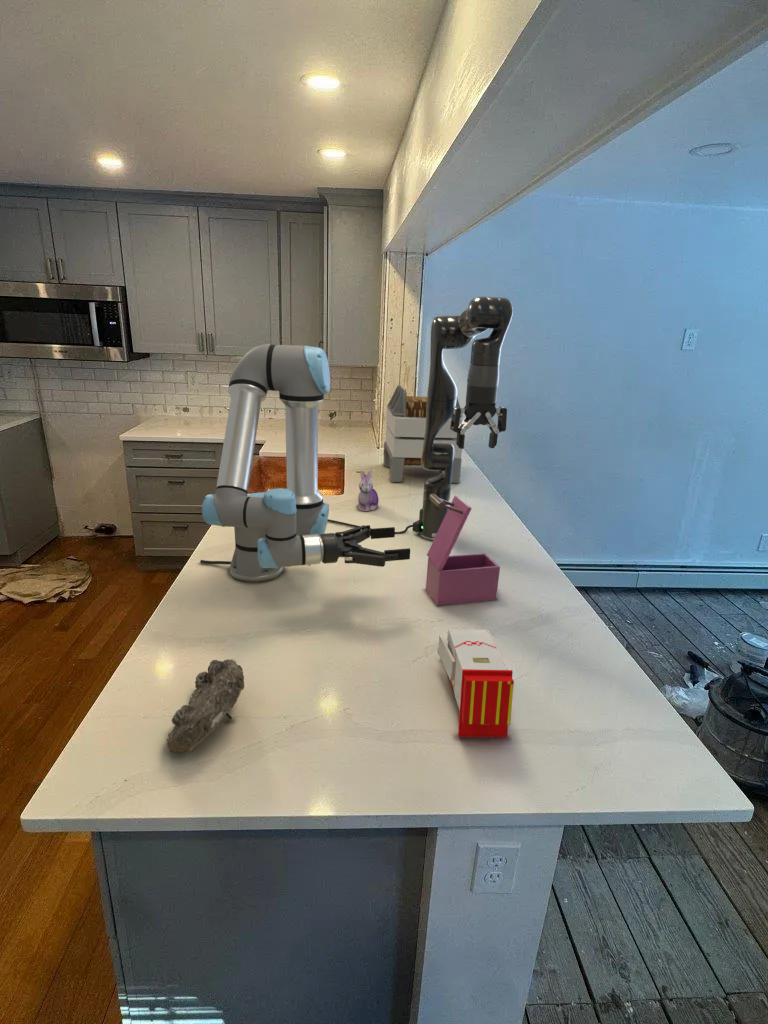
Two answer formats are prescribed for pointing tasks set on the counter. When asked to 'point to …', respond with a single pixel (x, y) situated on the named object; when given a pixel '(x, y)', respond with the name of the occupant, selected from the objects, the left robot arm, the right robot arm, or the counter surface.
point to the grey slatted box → (413, 435)
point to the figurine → (367, 493)
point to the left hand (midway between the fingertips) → (401, 542)
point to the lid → (447, 529)
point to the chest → (463, 579)
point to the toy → (478, 682)
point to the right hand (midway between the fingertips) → (476, 448)
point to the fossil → (206, 705)
